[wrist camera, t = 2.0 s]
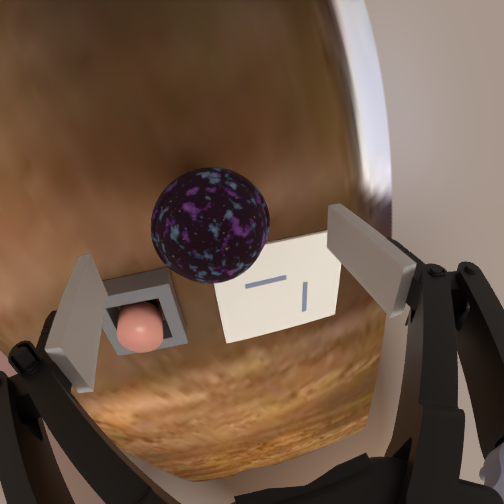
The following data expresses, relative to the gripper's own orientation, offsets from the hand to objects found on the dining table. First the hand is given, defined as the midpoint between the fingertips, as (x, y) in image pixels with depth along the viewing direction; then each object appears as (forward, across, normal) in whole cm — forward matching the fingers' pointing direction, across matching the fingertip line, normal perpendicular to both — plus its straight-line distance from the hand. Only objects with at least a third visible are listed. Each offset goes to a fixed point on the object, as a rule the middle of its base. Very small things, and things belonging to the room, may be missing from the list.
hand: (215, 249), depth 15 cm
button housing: (+14, -9, -14) cm, 21 cm away
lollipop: (+14, 0, 0) cm, 14 cm away
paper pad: (+14, +8, -16) cm, 22 cm away
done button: (+12, -9, -14) cm, 20 cm away
